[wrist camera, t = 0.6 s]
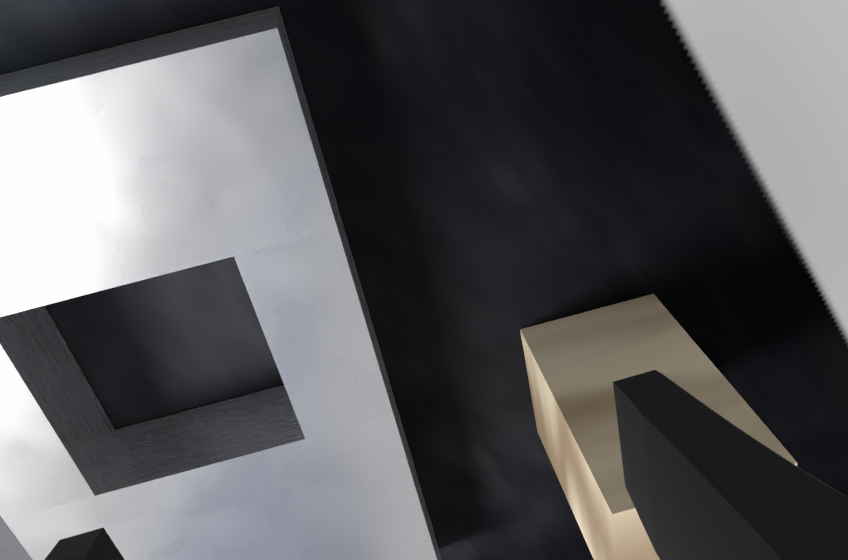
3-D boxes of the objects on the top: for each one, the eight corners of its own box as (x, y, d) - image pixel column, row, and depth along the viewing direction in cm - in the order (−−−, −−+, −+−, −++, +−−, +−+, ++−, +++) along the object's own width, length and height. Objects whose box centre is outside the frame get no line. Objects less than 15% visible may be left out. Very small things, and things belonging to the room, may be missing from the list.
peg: (659, 398, 23) (788, 583, 17) (537, 431, 23) (624, 630, 17) (653, 293, 21) (797, 462, 15) (520, 329, 21) (612, 514, 15)
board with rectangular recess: (439, 549, 25) (453, 614, 23) (150, 629, 25) (137, 702, 23) (278, 6, 16) (277, 27, 14) (-183, 120, 16) (-258, 161, 13)
